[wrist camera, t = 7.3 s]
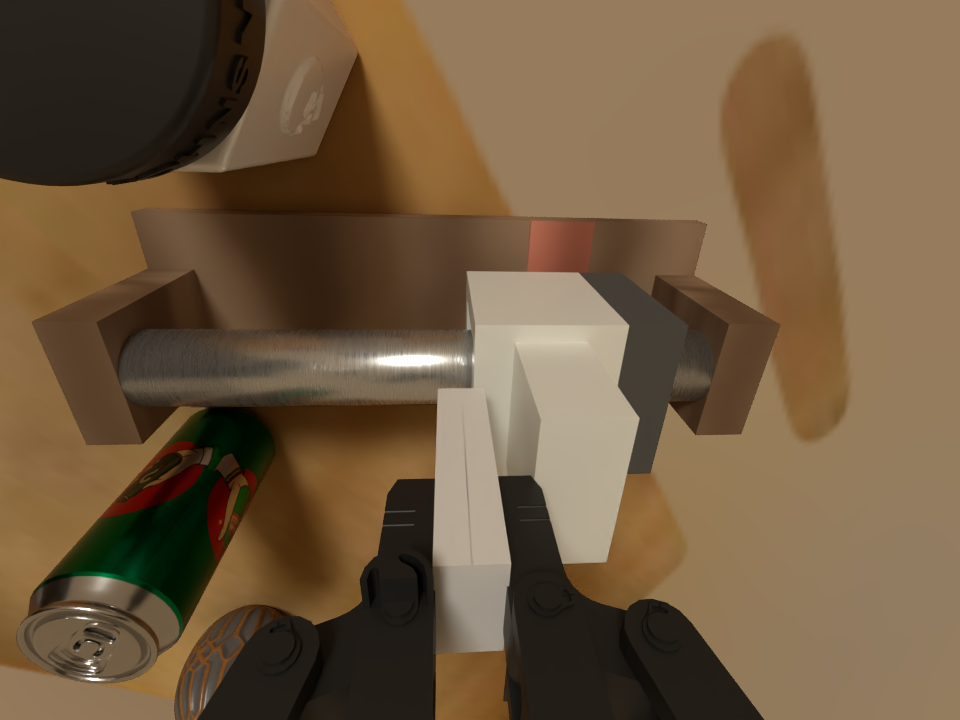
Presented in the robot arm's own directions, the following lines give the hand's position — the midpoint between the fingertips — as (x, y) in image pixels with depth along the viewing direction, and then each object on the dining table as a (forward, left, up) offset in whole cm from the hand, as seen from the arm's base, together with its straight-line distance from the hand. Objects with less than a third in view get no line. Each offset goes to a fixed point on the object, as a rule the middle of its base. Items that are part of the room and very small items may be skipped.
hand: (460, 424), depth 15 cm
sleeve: (+3, 0, -7) cm, 8 cm away
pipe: (-1, 0, -6) cm, 6 cm away
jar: (-8, +11, -10) cm, 17 cm away
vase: (-15, -25, -10) cm, 30 cm away
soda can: (-13, -8, -10) cm, 18 cm away
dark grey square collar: (+7, 0, -7) cm, 10 cm away
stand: (-1, 0, -10) cm, 10 cm away
